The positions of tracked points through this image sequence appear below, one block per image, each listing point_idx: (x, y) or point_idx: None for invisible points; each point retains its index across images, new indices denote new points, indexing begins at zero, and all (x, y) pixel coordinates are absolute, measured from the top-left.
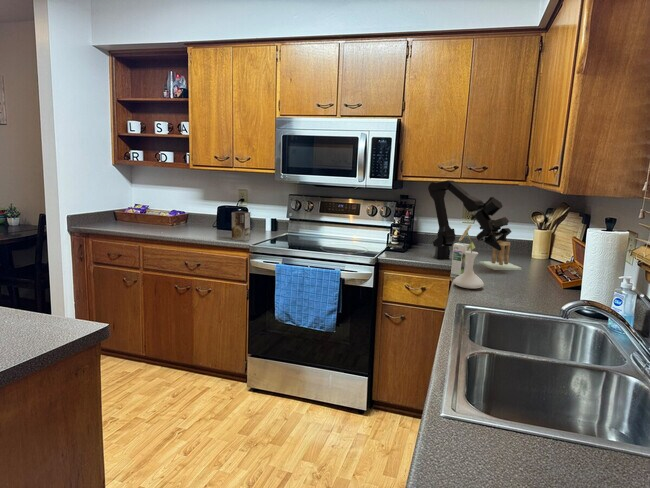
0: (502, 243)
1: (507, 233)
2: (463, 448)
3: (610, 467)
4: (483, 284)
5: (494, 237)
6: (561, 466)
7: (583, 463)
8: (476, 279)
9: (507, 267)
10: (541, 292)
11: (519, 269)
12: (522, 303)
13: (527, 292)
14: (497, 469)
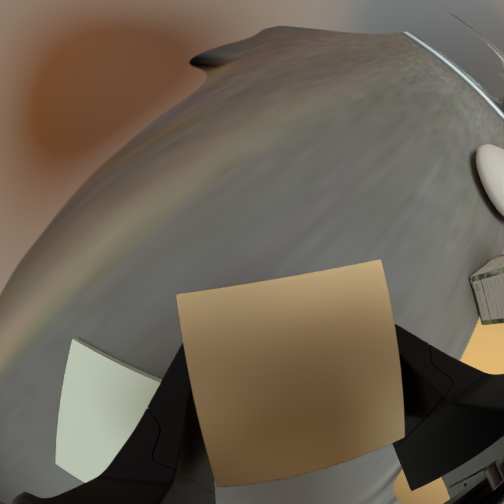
0: (380, 284)
1: (30, 500)
2: (499, 52)
3: (460, 20)
4: (480, 146)
5: (493, 385)
6: (474, 30)
7: (467, 25)
8: (502, 149)
9: (139, 384)
10: (333, 67)
11: (85, 343)
12: (426, 68)
13: (375, 83)
14: (491, 43)
